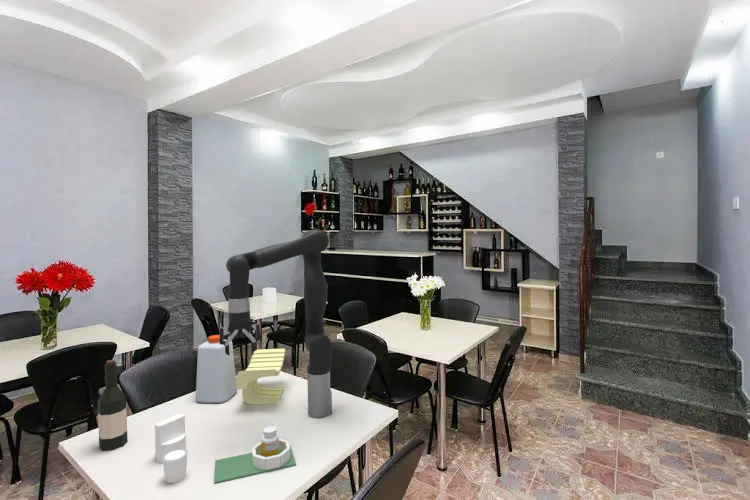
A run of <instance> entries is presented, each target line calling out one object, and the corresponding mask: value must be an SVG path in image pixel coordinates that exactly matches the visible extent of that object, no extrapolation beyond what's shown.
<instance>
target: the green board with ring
mask: <svg viewBox="0 0 750 500" xmlns="http://www.w3.org/2000/svg"><path fill="white" fill-rule="evenodd" d="M214 462H215V463H214V476H213V478H214V480H213V484H214V485H215V484H219V483H220V484H221V483H224V482H228V481H232V480H237V479H243V478H247V477H251V476H256V475H259V474H260V475H261V474H264V473H269V472H273V471H278V470H281V469H286V468H291V467H294V466H295V467H296V466H297V463H296V459H295V455H294V453H293V450H292V446H291V444H290V442H289V441H288V440H287V439H283V438H279V455H274V456H270V457H263V456H262V440H261V441H260V442H258V443H257V444H255V445H254V446H252V448H251V452H250V453H245V454H238V455H235V456H229V457H226V458H220V459H216V460H214Z"/></svg>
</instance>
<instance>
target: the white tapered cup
mask: <svg viewBox="0 0 750 500" xmlns="http://www.w3.org/2000/svg"><path fill="white" fill-rule="evenodd" d="M162 461H163V463H162V467H163V474H164V480H165V482H166V483H168V484H173V483H174V484H175V483H178V482H180V481H182V480H184V479H185V478H186V476H187V466H188V465H187V464H188V450H187V449H186V450H185V449H175V450H172V451H169V452H168V453H166V454H165V455H164V456H163V458H162Z"/></svg>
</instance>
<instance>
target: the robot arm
mask: <svg viewBox="0 0 750 500" xmlns="http://www.w3.org/2000/svg"><path fill="white" fill-rule="evenodd" d="M329 243H330V239H329V236H328V234H327V233H326V232H324V231H322V230H320V229H311V230H307V231H306V232H304V233H303V235H302V237H301V238H298V239H297V238H296V239H294V240H291V241H287V242H286V241H285V242H282V243H277V244H273V245H268V246H265V247H261V248H259V249H255V250H253V251H249V252H245V253H240V254H236V255H233V256H231V257H230V258H228V259H227V261H226V264H225V266H226V270H227V271H228V272H229V284H228V287H227V288H228V289H227V290H228V291H227V292H228V304H227V311H228V312H227V313H228V314H227V315H228V326H227V327H226V326H225V327H223V326H220V327H219V335H220V345H225V353H226V354H227V356H229V343H230V342H231V341H232V340H233V339H240V338H241V339H243V338H245V337H247V338H248V339H249V340H250V341H251V353H252V354H253V353H254V352H255V351H256V350H257V348H256V343H257V342H258V341H260V340H261V339H262V337H261V329H260V328H261V327H260V324H259V323H258V322H256V323H255V324H252V323H251V303H250V297H249V295H250V292H249V291H250V290H249V280H250V271H251V270H254V269H262V268H265V267H268V266H271V265H275V264H277V263H280V262H283V261H286V260H289V259H292V258H295V257H299V256H303V257H302V258H303V283H304V285H303V291H304V295H303V296H304V311H305V333H304V334H305V335H304V345H305V348H306V350H307V351H308V352H309V359H308V360H309V363H308V364H307V368H306V370H307V371H306V372H307V373H306V374H307V375H306V376H307V377H306V378H307V414H308V416H309V417H312V418H314V419H315V418H319V419H320V418H324V417H327V416H329V415H331V414H333V396H332V395H333V392H332V389H331V366H332V355H333V354H332V352H333V351H332V350H333V349H332V347H333V346H332V341H331V339H330V337H329V336H328V335H327V334H325V328H324V315H325V311H326V308H327V304H328V303H327V302H328V287H327V286H328V285H327V281H326V276H325V273H324V271H323V267H322V262H321V259H322V257H321V253H322V252H324V251H326V249H327V248H328V246H329ZM252 329H253V330H254V331H255V333H256V336H255V337H254V336H253V335H252V333H251V332H250V331H251V330H252ZM227 331H228V332H229V335H228V337H227V339H224V334H226V333H227ZM224 340H226V341H224ZM232 342H233V341H232Z"/></svg>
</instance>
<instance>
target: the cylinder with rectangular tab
mask: <svg viewBox="0 0 750 500" xmlns="http://www.w3.org/2000/svg"><path fill="white" fill-rule="evenodd" d="M185 419H186V415H184V414H182V413H178V414H175V415H173V416H170V417H169V418H166V419H164V420H160V421H159V422H157V423H155V424H154V436H155V437H154V439H155V446H154V447H155V461H156V462H158V463H161V464H163V461H162V458H163V456H164V455H165V454H166V453H168V452H169V451H172V450H175V449H185V450H187V436H186V435H187V434H186V420H185Z"/></svg>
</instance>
